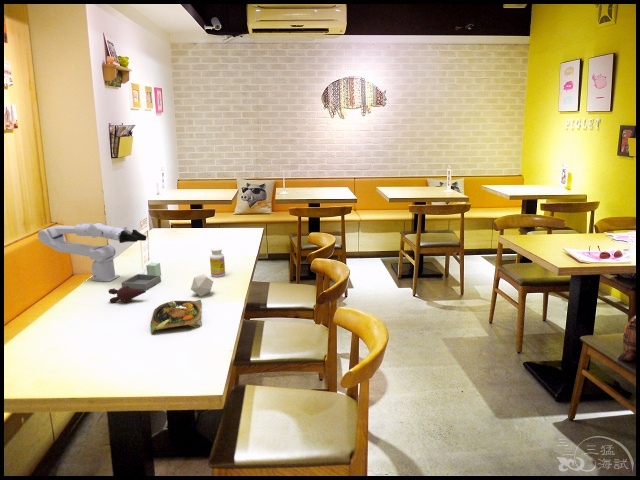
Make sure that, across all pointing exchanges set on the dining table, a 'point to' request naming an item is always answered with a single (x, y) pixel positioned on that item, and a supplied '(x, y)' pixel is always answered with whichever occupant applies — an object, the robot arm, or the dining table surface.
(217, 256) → the supplement bottle
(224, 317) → the dining table surface
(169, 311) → the prepared meal
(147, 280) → the gray tray
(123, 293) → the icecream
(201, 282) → the die
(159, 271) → the mint block
